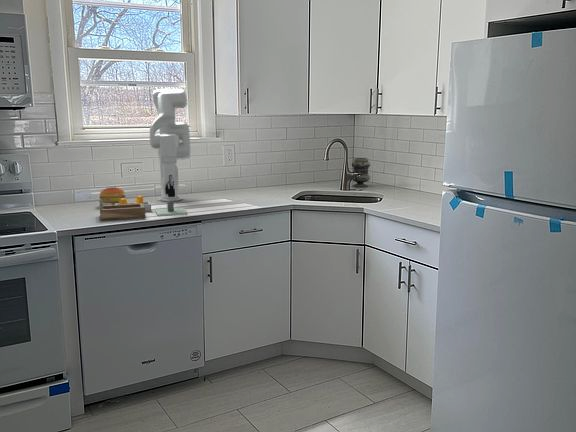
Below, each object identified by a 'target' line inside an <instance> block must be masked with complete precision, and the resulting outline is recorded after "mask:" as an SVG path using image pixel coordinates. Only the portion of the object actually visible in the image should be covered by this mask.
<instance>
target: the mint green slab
mask: <svg viewBox="0 0 576 432" xmlns="http://www.w3.org/2000/svg"><path fill="white" fill-rule="evenodd" d="M166 202H167V205H166V206H167V208H164V209H163V208H162V209H161V208H160V209H155V210H154V212H155V214H156V216H157V217H167V216H182V215H185V216H186V215H188V212H187V210H186V209H185V208H184V207H180V208H179V207H178V208H175V207H174V206H175V205H174V202H175V201H166Z"/></svg>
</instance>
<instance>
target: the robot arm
mask: <svg viewBox="0 0 576 432" xmlns="http://www.w3.org/2000/svg"><path fill="white" fill-rule="evenodd" d="M187 98H188V97H187V93H186V91H185V90H184V89H180V88H160V89H159V88H158V89H155V90H153V91H152V100H153V104H154V106H155V108H156V110H157V114H158V115H157V117H156V118H155V120H153V122H152V123H151V125H150V127H149V145H150V147H151V148H152V149H153V150H157V154H158V158H159V168H160V169H159V170H160V187H161V189H160V191H161V192H160V193H161V196H159V197H158V200H159V201H160V202H167V201H174V202H178V201H181V200H183V197H182V196H181V195H180V192H179V191H180V190H179V189H180V188H179V187H180V185H179V168H178V165H177V163H178V162H177V161H180V160H181V161H182V160H188V159H190V158H191V138H190V137H191V136H190V135H191V134H190V126H189V125H188V123H187V122H184V121H176V109H185V108H186V107H187V103H188V99H187ZM157 131H159V133H156V132H157Z"/></svg>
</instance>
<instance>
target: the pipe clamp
mask: <svg viewBox="0 0 576 432" xmlns="http://www.w3.org/2000/svg"><path fill="white" fill-rule="evenodd" d="M143 202H144V196H143V195H137V196H136V199H135V203H134V204H137V203H143ZM128 203H129V202H127V198H125V199H124V198H122V199H120V204H128ZM143 205H144V204H143Z"/></svg>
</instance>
